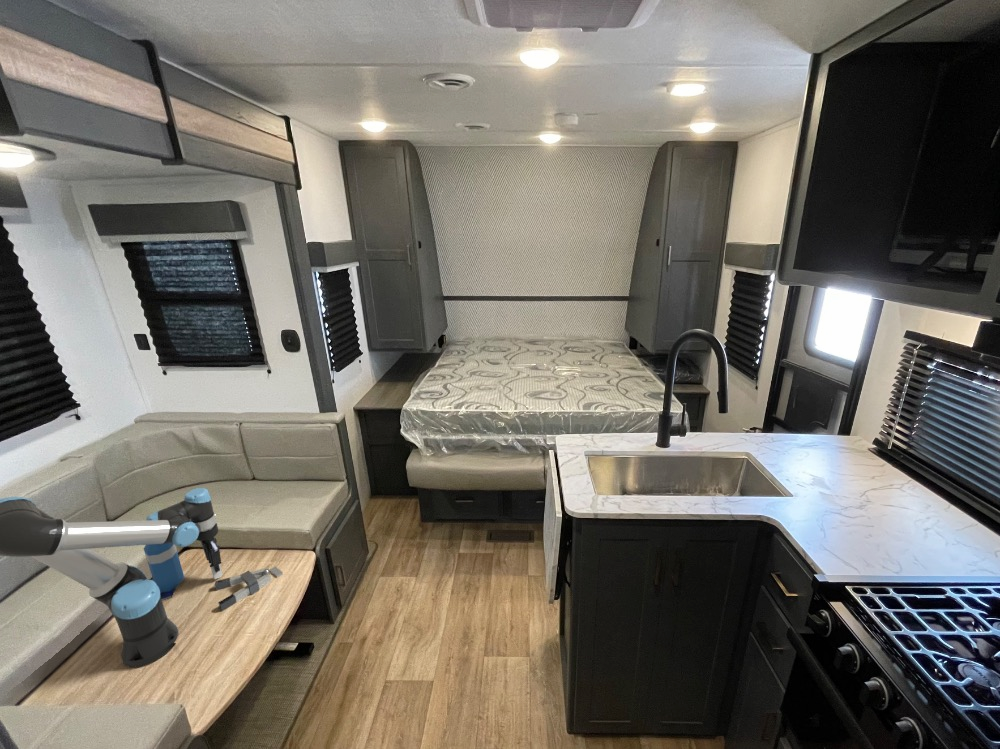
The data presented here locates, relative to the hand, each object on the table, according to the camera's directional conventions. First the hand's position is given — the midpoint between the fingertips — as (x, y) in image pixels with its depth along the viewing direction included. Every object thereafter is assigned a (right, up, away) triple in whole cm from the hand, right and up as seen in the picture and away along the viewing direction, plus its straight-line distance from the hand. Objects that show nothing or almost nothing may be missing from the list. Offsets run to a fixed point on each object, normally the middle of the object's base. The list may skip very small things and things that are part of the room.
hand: (218, 576), depth 171 cm
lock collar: (+16, -3, -4) cm, 17 cm away
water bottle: (-19, -3, 0) cm, 19 cm away
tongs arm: (+11, -2, -2) cm, 12 cm away
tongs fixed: (+16, -3, -4) cm, 16 cm away
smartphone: (-15, -5, -3) cm, 16 cm away
